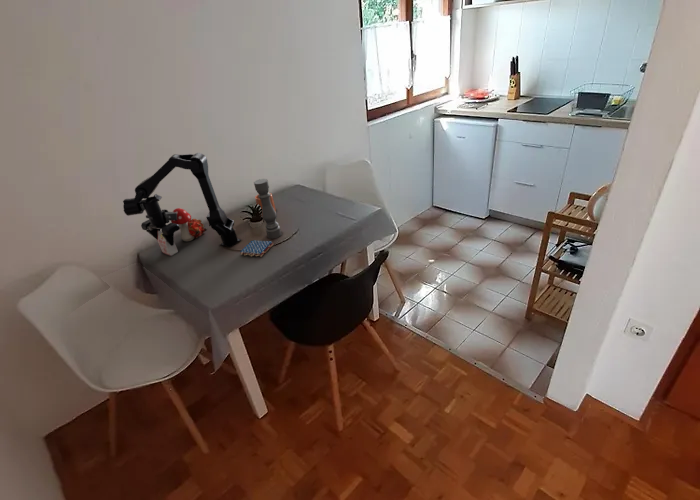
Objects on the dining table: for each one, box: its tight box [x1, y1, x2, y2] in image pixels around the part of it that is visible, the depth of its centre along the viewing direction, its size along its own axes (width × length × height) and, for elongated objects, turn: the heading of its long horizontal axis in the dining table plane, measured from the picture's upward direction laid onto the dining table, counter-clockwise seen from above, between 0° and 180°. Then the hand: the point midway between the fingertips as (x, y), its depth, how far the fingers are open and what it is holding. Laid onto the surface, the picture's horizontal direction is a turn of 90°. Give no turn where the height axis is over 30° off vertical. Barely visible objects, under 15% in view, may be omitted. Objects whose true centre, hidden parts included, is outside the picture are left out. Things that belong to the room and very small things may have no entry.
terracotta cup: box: [254, 192, 277, 213], centre depth 202 cm, size 8×8×9 cm
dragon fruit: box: [187, 218, 207, 239], centre depth 190 cm, size 8×8×12 cm
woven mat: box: [239, 239, 274, 258], centre depth 171 cm, size 10×11×2 cm
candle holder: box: [253, 178, 282, 240], centre depth 175 cm, size 6×6×25 cm
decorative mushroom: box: [170, 207, 195, 242], centre depth 187 cm, size 10×9×15 cm
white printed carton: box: [156, 230, 179, 256], centre depth 179 cm, size 4×7×10 cm, turn 53°
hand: (167, 244), depth 179 cm, fingers closed on white printed carton, 7 cm apart
